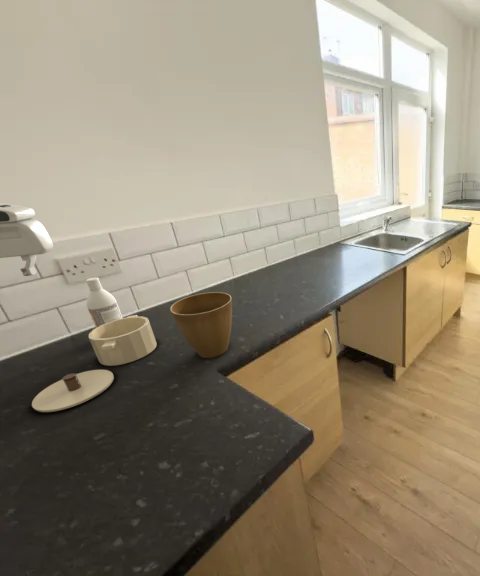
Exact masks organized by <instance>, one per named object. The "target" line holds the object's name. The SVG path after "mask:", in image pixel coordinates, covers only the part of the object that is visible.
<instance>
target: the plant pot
mask: <svg viewBox="0 0 480 576" xmlns="http://www.w3.org/2000/svg"><path fill="white" fill-rule="evenodd" d="M169 311H170V313H171V315H172V317H173V319H174V321H175V323H176V325H177V327H178V329H179V330H180V332H181V333H182V335H183V336H184V338H185V340H186V341H187V342H188V343H189V345H190V346H191V347H192V349H193V350H194V351H195V352H196V353H197V354H198V356H199V357H200V358H203V359H212V358H216V357H219V356H221V355H223V354H224V353H226V352H227V351H228V348H229V345H230V338H231V332H232V322H233V301H232V296H231V295H230V294H229V293H226V292H220V291H211V292H202V293H197V294H193V295H189V296H187V297H186V296H185V297H183V298H181V299H179V300H177V301H175V302H174V303H173V304H171V305H170V307H169Z"/></svg>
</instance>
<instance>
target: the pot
mask: <svg viewBox="0 0 480 576" xmlns="http://www.w3.org/2000/svg"><path fill="white" fill-rule="evenodd" d="M88 339H89V342H90V344H91V347H92V349H93V351H94V353H95V356H96V358H97V361H98V362H99V363H100V364H101V365H103V366H107V367H113V366H120V365H125V364H128V363H133V362H135V361H137V360H139V359H142V358H144V357H146V356H147V355H150V353H152V352H153V351H154V350H155V349H156V348H157V346H158V344H157V341H156V337H155V334H154V331H153V329H152V326H151V323H150V320H149V318H148V317H146V316H143V315H142V316H139V315H138V314H134V315H133V314H132V315H128V316H127V317H123V318H122V319H118V320H114V321H111V322H108V323H106V324H103V325H101V326H99V327H97V328H96V327H95V328H93V329H92V330H91V331H90V332H89V333H88Z"/></svg>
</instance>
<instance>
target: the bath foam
mask: <svg viewBox="0 0 480 576" xmlns="http://www.w3.org/2000/svg"><path fill="white" fill-rule="evenodd" d="M85 282H86V284H87V287H88V289H89V293H88V295H87V298H86V307H87V311H88V313H89V315H90V317H91V320H92V322H93V324H94V326H95V328H97V327H99V326H101V325H103V324H106V323H108V322H111V321H114V320H118V319H122V318H124V317H123V315H122V312H121V310H120V307H119V305H118V301H117V300H116V298H115V296H113V294H112V293H110V292H109V291H107V290H106V289H104V287H103V286H102V283H101V281H100V278H99V277H95V276H94V277H90V278H86V280H85Z"/></svg>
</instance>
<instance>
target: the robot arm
mask: <svg viewBox="0 0 480 576" xmlns="http://www.w3.org/2000/svg"><path fill="white" fill-rule="evenodd" d="M35 217H36V212H35V210H34V209H33V208H32V207H29V206H23V205H18V204H11V203H8V202H7V203H6V202H2V201H0V259H3V258H4V259H6V258H14V257H15V258H16V257H20V259H21V260H22V261H23V262H25V265H24V267H21V268H20V272H21V273H22V276H23V277H28V276H34V275H37V269H36V268H35V265H36V263H37V262H36V261H37V259H38V257H37V255H44V254H47V253H49V252H51V251H53V248H54V243H53V240H52V238H51V237H50V235H49V232H48V231H47V229H46V227H45V226H44V224H42V223H41V221H39V220H37V219H36V218H35Z"/></svg>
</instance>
